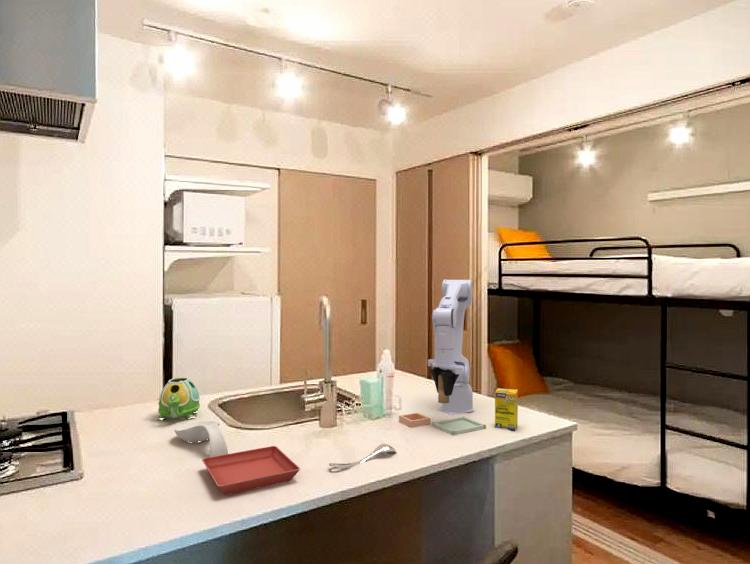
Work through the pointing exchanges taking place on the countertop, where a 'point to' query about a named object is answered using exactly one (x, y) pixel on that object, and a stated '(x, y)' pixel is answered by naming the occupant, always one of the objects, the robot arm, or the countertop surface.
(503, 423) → the supplement box
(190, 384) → the turtle holder
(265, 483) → the plant saucer
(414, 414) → the tray
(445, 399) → the dowel
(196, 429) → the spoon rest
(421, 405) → the countertop surface
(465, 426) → the tray
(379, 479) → the countertop surface
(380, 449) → the silver spork
